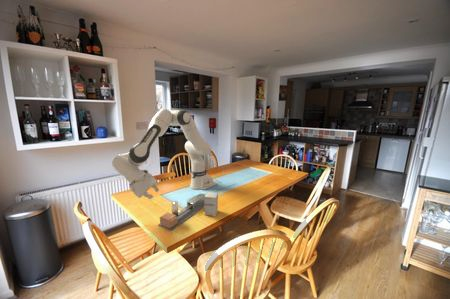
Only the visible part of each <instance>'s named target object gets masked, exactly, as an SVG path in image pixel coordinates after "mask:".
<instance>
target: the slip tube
mask: <svg viewBox="0 0 450 299" xmlns="http://www.w3.org/2000/svg"><path fill="white" fill-rule="evenodd" d="M192 207H193V204H189V205H187V204H186V205H185V206H184V207H182V208H181V209H179V202H178V201H177V200H175V201H172V202H171V214H174V215H176V216H177V217H179V216H180V215H182V214H183V213H185V212H186V211H188V210H189V209H191V208H192Z"/></svg>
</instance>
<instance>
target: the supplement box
mask: <svg viewBox="0 0 450 299" xmlns="http://www.w3.org/2000/svg"><path fill="white" fill-rule="evenodd" d="M204 195H205V207H204V216H212V217H213V216H214V217H216V215H217V214H218V209H219V206H218V204H219V202H218V201H219V200H218V199H219V193H218V192H211V191H210V192H209V191H206V193H205V194H204Z"/></svg>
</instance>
